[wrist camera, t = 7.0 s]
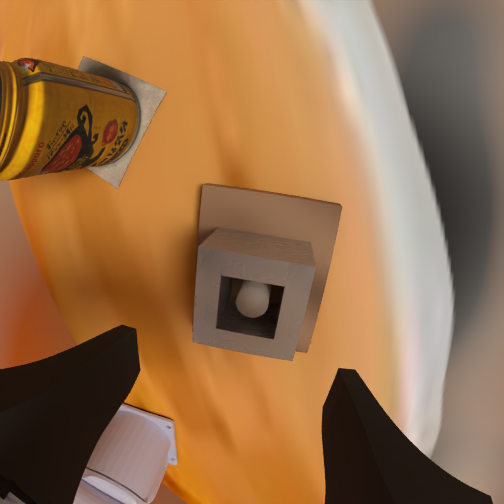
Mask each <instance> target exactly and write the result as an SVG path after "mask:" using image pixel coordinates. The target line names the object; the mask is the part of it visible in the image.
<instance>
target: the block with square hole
mask: <svg viewBox="0 0 504 504" xmlns="http://www.w3.org/2000/svg"><path fill="white" fill-rule="evenodd" d="M315 269H316V265H315V260H314V255H313V250H312V245H311V242H306V241H300V240H294V239H288V238H283V237H277V236H271V235H265V234H259V233H253V232H247V231H241V230H235V229H228V228H222V227H218V228H217V229H216V230H215V231H214V232H213V233H212V234H211V235H210V236H209V237H208V238H207V239H206V240H205V241H204V242H203V243H202V244H200V245H199V246H198V258H197V271H196V286H195V303H194V322H193V342H195V343H200V344H204V345H209V346H213V347H218V348H222V349H227V350H232V351H237V352H242V353H247V354H253V355H258V356H264V357H270V358H276V359H282V360H288V361H293V357H294V354H295V350H296V346H297V343H298V339H299V335H300V331H301V327H302V323H303V319H304V315H305V311H306V307H307V303H308V299H309V295H310V291H311V286H312V282H313V278H314V273H315ZM233 278H239V279H244V280H250V281H256V282H261V283H267V284H273V285H278V286H282V287H281V292H280V298H279V303H273V302H269V303H268V308H267V310H266V312H265V313H264V314H263V315H261V316H259V317H255V318H252V317H247V316H245V315H243V314H242V313H241V312H240V311H239V310H238V308H237V306H236V299H237V296H234V295H231V291H232V282H233Z"/></svg>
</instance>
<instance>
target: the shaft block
mask: <svg viewBox="0 0 504 504" xmlns="http://www.w3.org/2000/svg"><path fill="white" fill-rule="evenodd" d="M341 210H342V206H341V205H340V204H338V203H333V202H327V201H322V200H316V199H310V198H305V197H299V196H293V195H287V194H280V193H274V192H268V191H261V190H254V189H247V188H240V187H232V186H225V185H217V184H209V183H207V184H204V185H203V187H202V197H201V208H200V219H199V231H198V243H197V257H196V271H197V258H198V246H199V245H200V244H202V243H203V242H204V241H205V240H206V239H207V238H208V237H209V236H210V235H211V234H212V233H213V232H214V231H215V230H216V229H217V228H218V227H222V228H228V229H235V230H241V231H247V232H253V233H259V234H265V235H271V236H277V237H283V238H288V239H294V240H300V241H306V242H311V245H312V250H313V255H314V260H315V265H316V269H315V273H314V278H313V282H312V286H311V291H310V295H309V299H308V303H307V307H306V311H305V315H304V319H303V323H302V327H301V331H300V335H299V339H298V343H297V346H296V350H295V351H297V352H304V353H307V352H308V348H309V345H310V342H311V338H312V334H313V331H314V327H315V323H316V320H317V316H318V312H319V308H320V304H321V301H322V297H323V293H324V288H325V284H326V280H327V276H328V272H329V267H330V263H331V259H332V254H333V249H334V245H335V240H336V235H337V231H338V226H339V221H340V215H341ZM195 286H196V272H195ZM281 287H282V286H278V285H273V284H267V283H261V282H256V281H250V280H244V279H239V278H233V282H232V291H231V295H234V296H237V299H236V306H237V308H238V310H239V311H240V312H241V313H242V314H243V315H245V316H247V317H252V318H255V317H259V316H261V315H263V314H264V313H265V312H266V310H267V308H268V303H269V302H273V303H279V298H280V292H281ZM194 303H195V289H194ZM193 322H194V308H193Z"/></svg>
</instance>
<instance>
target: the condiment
mask: <svg viewBox="0 0 504 504" xmlns="http://www.w3.org/2000/svg"><path fill="white" fill-rule="evenodd" d="M165 94H166V91H164V90H162V89H160V88H158V87H155V86H153V85H151V84H149V83H147V82H145V81H142V80H140V79H138V78H136V77H134V76H131V75H129V74H127V73H124V72H122V71H120V70H117V69H115V68H112V67H110V66H108V65H105V64H103V63H100V62H97V61H95V60H92V59H90V58H87V57H84V56H83V58H82V60H81V62H80V64H79V67H78V70H75V69H72V68H69V67H64V66H61V65H57V64H54V63H50V62H45V61H42V60H38V59H32V58H31V59H30V58H21V59H18V60H15V61H13V62H11V63H10V62H5V61H2V62H1V61H0V180H13V179H19V178H23V177H29V176H34V175H41V174H46V173H52V172H61V171H64V170H74V169H81V168H87V169H89V170H90V171H92V172H93V173H95V174H96V175H98V176H100V177H101V178H102V179H103V180H105V181H107V182H108V183H110V184H111V185H113V186H114V187H115V188H116V189H118V187H119V185H120V182H121V180H122V178H123V175H124V174H125V172H126V169H127V167H128V165H129V163H130V161H131V159H132V157H133V155H134V153H135V151H136V149H137V147H138V145H139V143H140V141H141V139H142V137H143V135H144V133H145V131H146V129H147V127H148V125H149V123H150V121H151V119H152V117H153V115H154V112H155V111H156V109H157V107H158V106H159V104H160V102H161V100H162V99H163V97H164V95H165Z"/></svg>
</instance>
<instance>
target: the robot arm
mask: <svg viewBox="0 0 504 504" xmlns="http://www.w3.org/2000/svg"><path fill="white" fill-rule="evenodd" d="M139 372H140V363H139V354H138V344H137V333H136V329H135V328H131V327H128V326H125V325H120V326H118V327H115V328H113V329H111V330H109V331H107V332H105V333H103V334H101V335H98V336H96V337H94V338H92V339H90V340H88V341H86V342H84V343H82V344H80V345H77V346H75V347H73V348H71V349H68V350H66V351H63V352H61V353H58V354H56V355H54V356H51V357H48V358H45V359H42V360H39V361H36V362H32V363H29V364H25V365H20V366H15V367H11V368H5V369H0V504H149V503H150V502H152V500H153V499H154V498H155V495H156V493H157V491H158V489H159V486H160V484H161V481H162V479H163V476H164V474H165V472H166V469H167V467H168V464H172V465H177V464H178V458H177V449H176V439H175V428H174V422H173V421H172V420H170V419H167V418H164V417H161V416H158V415H155V414H151V413H148V412H145V411H142V410H140V409H137V408H134V407H131V406H128V405H126V404H123V402H124V401H125V399H126V398H127V396H128V394H129V393H130V391H131V389H132V387H133V385H134V383H135V381H136V379H137V377H138V375H139ZM322 443H323V455H324V468H325V482H326V494H325V504H493V502H492V499H491V496H489V495H487V494H485V493H483V492H481V491H478V490H476V489H474V488H472V487H470V486H468V485H466V484H465V483H463V482H461V481H460V480H458V479H456V478H455V477H453V476H452V475H450V474H449V473H447V472H446V471H444V470H443V469H441V468H440V467H439V466H438V465H436V464H435V463H434V462H433V461H431V460H430V459H429V458H428V457H427V456H426V455H424V454H423V453H422V452H421V451H420V450H419V449H418V448H417V447H416V446H415V445H414V444H413V443H412V442H411V441H410V440H409V439H408V438H407V437H406V436H405V435H404V434H403V433H402V432H401V430H400V429H399V428H398V427H397V426H396V425H395V423H394V422H393V421H392V420H391V419H390V417H389V416H388V415H387V414H386V412H385V411H384V410H383V408H382V407H381V406H380V404H379V403H378V401H377V400H376V399H375V397H374V396H373V394H372V393H371V392H370V390H369V389H368V387H367V386H366V384H365V383H364V381H363V380H362V379H361V377H360V376H359V374H358V373H357V371H356V370H353V369H343V368H338V371H337V374H336V376H335V379H334V381H333V384H332V386H331V389H330V391H329V394H328V396H327V398H326V401H325V403H324V405H323V411H322Z"/></svg>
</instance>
